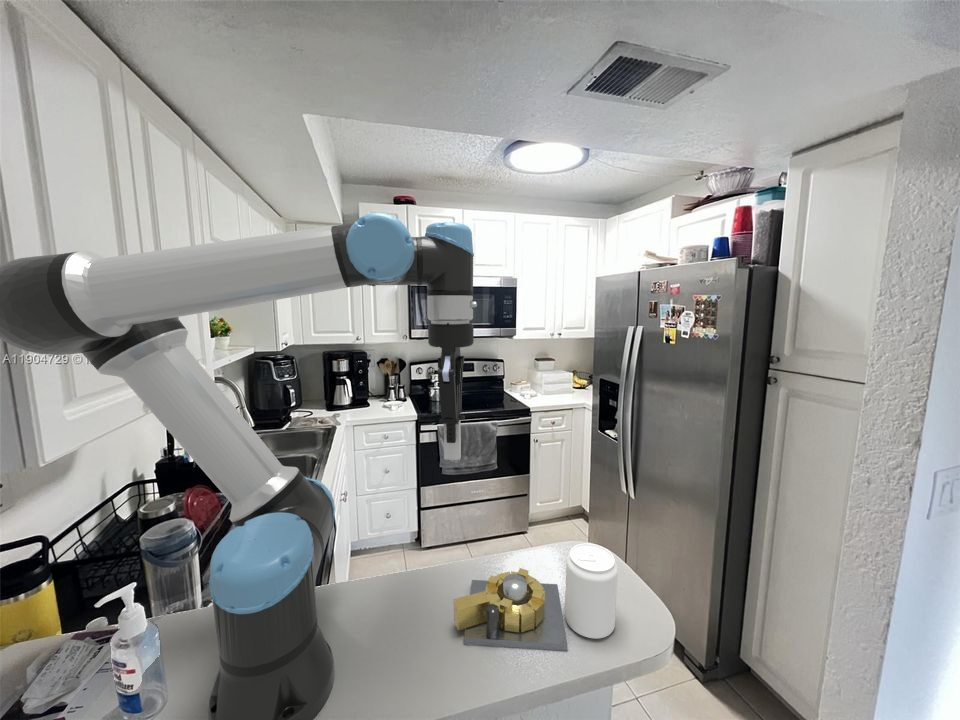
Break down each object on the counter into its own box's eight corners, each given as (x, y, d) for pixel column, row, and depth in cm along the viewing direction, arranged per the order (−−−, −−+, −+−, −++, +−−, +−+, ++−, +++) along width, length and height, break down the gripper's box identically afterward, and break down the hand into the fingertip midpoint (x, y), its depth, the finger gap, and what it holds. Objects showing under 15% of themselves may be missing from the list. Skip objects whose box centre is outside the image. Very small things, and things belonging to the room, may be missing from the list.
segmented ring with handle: (527, 581, 74) (528, 561, 73) (555, 621, 64) (556, 599, 64) (447, 602, 68) (447, 581, 68) (465, 649, 59) (464, 626, 59)
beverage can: (617, 646, 61) (621, 576, 60) (564, 637, 63) (567, 569, 61) (611, 607, 69) (614, 544, 67) (564, 600, 71) (566, 538, 69)
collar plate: (464, 644, 62) (463, 609, 61) (471, 585, 75) (471, 555, 74) (567, 651, 60) (568, 615, 60) (557, 589, 73) (558, 559, 72)
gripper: (469, 324, 58) (470, 474, 62) (476, 320, 71) (477, 445, 75) (419, 324, 59) (423, 473, 62) (435, 320, 72) (438, 444, 75)
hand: (452, 457), depth 68 cm, fingers closed
